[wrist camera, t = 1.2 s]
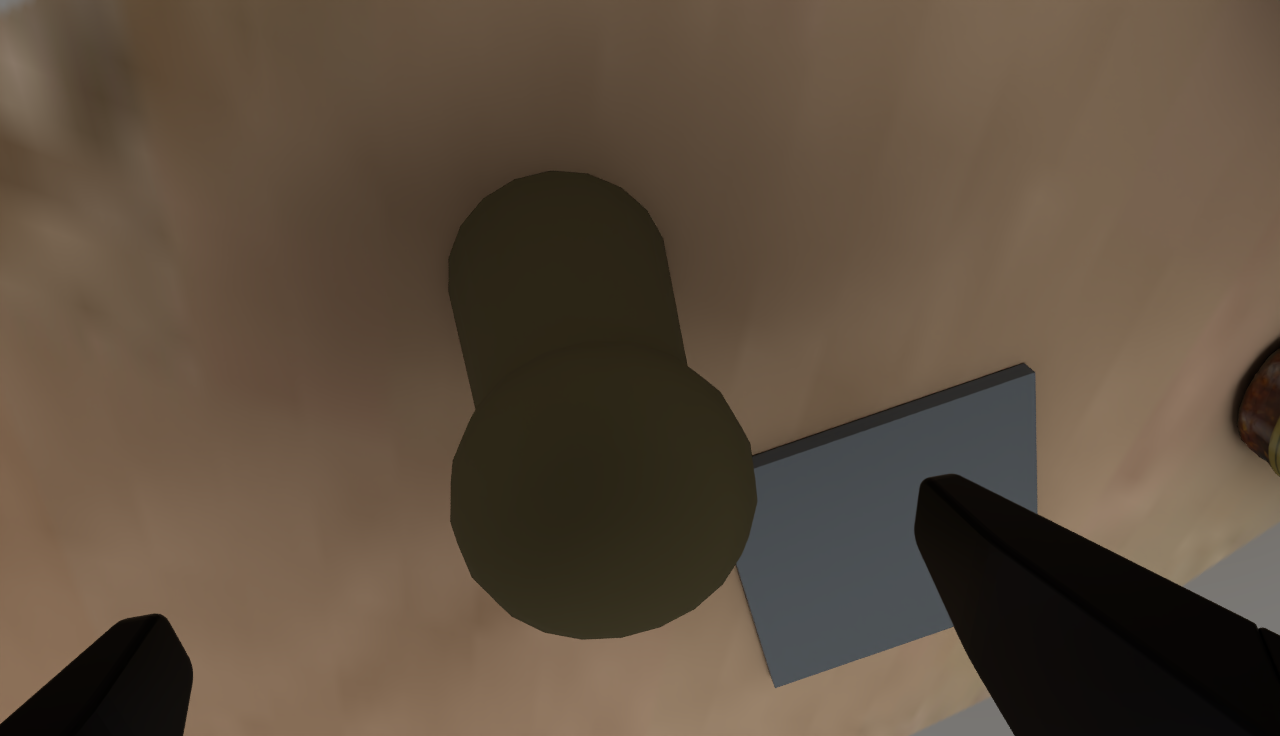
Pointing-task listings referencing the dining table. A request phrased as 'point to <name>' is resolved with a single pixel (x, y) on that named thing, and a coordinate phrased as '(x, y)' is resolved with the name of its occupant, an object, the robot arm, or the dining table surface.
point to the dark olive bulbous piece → (587, 418)
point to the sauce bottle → (1263, 413)
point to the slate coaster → (873, 521)
